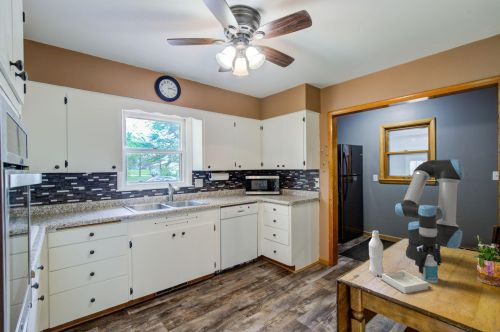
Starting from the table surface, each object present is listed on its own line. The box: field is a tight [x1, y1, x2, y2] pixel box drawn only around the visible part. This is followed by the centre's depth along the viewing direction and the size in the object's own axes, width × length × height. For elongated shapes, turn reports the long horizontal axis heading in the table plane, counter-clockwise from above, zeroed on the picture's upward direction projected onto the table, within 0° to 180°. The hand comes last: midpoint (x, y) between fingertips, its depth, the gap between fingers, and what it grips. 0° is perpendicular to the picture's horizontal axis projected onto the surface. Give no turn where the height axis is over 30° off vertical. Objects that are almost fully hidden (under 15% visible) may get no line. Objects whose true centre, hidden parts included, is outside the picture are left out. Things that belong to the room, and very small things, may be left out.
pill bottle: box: [421, 254, 439, 284], centre depth 124 cm, size 8×7×14 cm
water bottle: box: [368, 229, 385, 278], centre depth 131 cm, size 7×7×25 cm
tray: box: [381, 269, 429, 294], centre depth 120 cm, size 14×14×3 cm
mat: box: [380, 279, 433, 295], centre depth 120 cm, size 18×14×1 cm
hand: (428, 277), depth 124 cm, fingers closed on pill bottle, 7 cm apart
